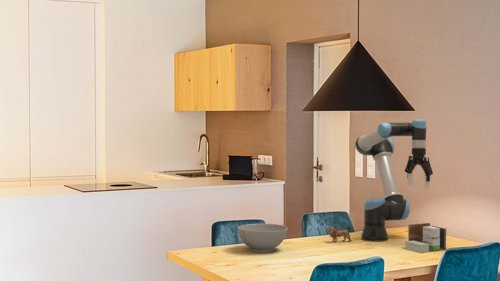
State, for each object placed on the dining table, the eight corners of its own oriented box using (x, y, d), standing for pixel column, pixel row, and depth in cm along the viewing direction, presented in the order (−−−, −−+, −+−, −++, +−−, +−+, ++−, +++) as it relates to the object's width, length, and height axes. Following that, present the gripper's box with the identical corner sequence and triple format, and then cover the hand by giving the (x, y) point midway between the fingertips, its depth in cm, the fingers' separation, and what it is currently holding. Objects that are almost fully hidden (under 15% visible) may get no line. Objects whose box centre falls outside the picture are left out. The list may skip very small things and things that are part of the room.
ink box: (440, 250, 379) (440, 227, 379) (432, 251, 377) (433, 228, 377) (429, 247, 387) (429, 225, 387) (422, 248, 385) (422, 226, 384)
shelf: (400, 249, 386) (401, 225, 386) (428, 246, 395) (428, 222, 395) (421, 254, 372) (421, 229, 372) (449, 251, 381) (449, 227, 380)
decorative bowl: (228, 252, 379) (228, 229, 378) (250, 243, 403) (250, 222, 402) (275, 256, 367) (275, 233, 367) (295, 247, 391) (295, 225, 391)
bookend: (431, 246, 390) (431, 226, 390) (434, 246, 391) (434, 225, 391) (444, 249, 381) (444, 228, 381) (447, 249, 382) (447, 228, 382)
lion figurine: (329, 243, 404) (330, 227, 404) (325, 242, 409) (326, 226, 409) (353, 242, 409) (353, 226, 408) (349, 240, 414) (349, 224, 413)
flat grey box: (404, 248, 383) (405, 241, 383) (413, 248, 386) (413, 240, 386) (420, 252, 372) (420, 245, 372) (428, 251, 375) (429, 244, 375)
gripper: (398, 146, 404) (398, 184, 405) (429, 148, 382) (428, 189, 383) (409, 146, 407) (408, 184, 408) (440, 148, 385) (439, 188, 386)
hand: (418, 186), depth 396 cm, fingers open, 13 cm apart
